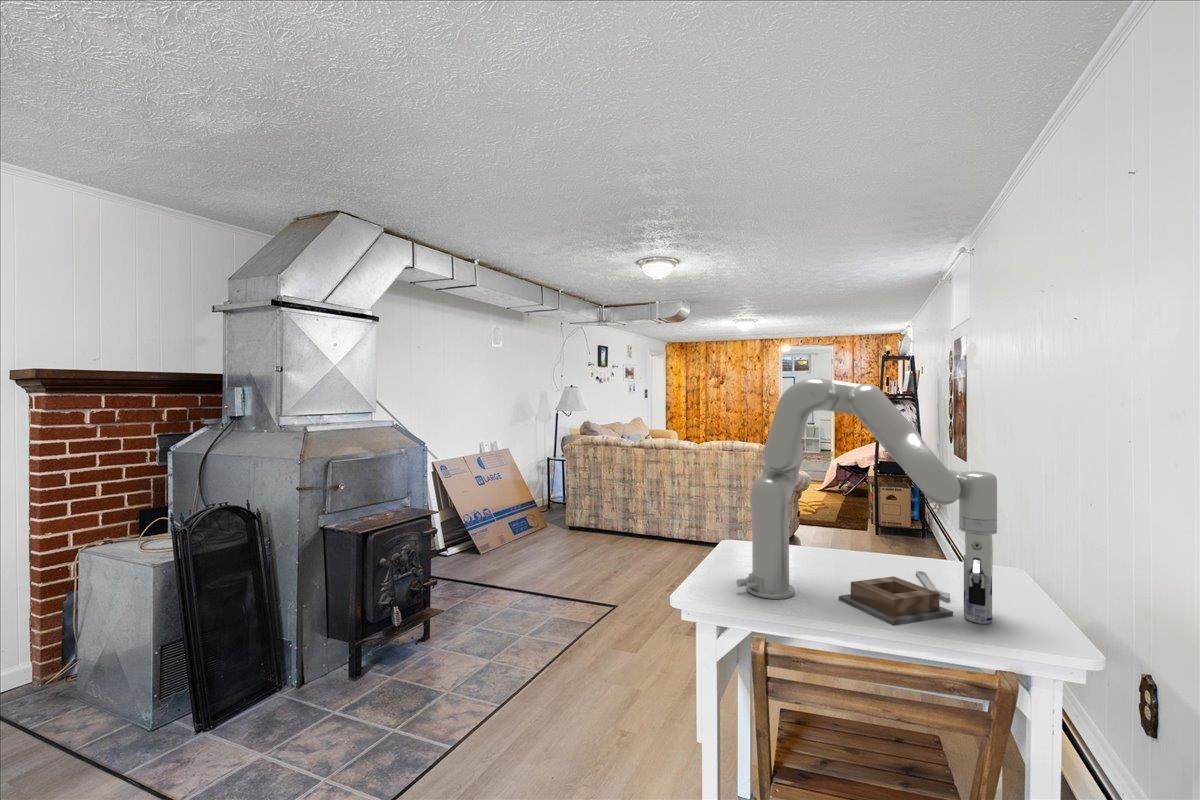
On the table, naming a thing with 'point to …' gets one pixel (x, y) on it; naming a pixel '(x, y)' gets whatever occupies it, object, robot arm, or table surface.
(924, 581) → the adjustable wrench
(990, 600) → the beverage can
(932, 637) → the table surface
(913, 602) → the holder
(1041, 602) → the table surface
